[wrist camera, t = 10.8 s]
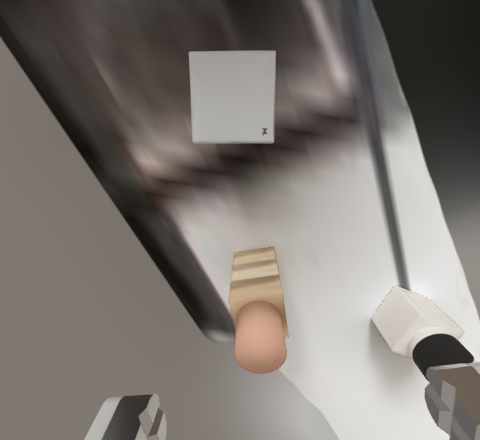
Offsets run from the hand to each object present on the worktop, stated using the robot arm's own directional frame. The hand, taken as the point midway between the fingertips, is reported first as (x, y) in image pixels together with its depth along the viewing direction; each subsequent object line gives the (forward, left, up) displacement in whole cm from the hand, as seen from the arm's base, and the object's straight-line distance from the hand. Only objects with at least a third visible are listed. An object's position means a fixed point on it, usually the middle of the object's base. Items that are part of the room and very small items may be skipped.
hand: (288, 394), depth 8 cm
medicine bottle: (+24, +20, -31) cm, 44 cm away
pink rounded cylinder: (+13, -2, -19) cm, 23 cm away
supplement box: (-10, -1, -31) cm, 33 cm away
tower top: (+13, -2, -23) cm, 27 cm away
